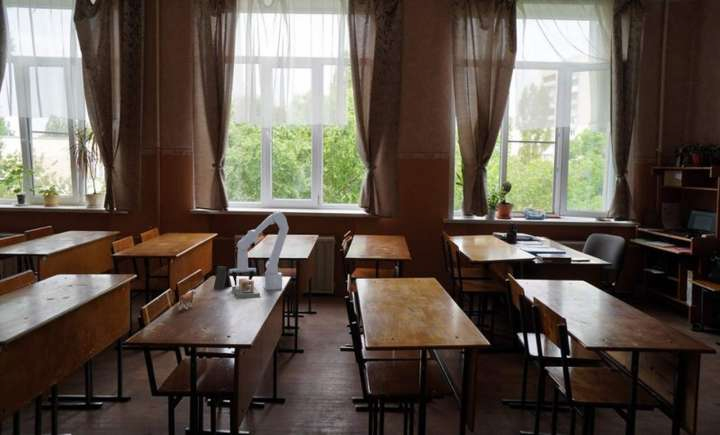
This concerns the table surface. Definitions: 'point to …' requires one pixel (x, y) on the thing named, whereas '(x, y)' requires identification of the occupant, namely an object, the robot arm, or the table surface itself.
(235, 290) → the deck
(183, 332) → the table surface
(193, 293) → the bull figurine
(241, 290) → the tunnel
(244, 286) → the block
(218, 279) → the phone stand
